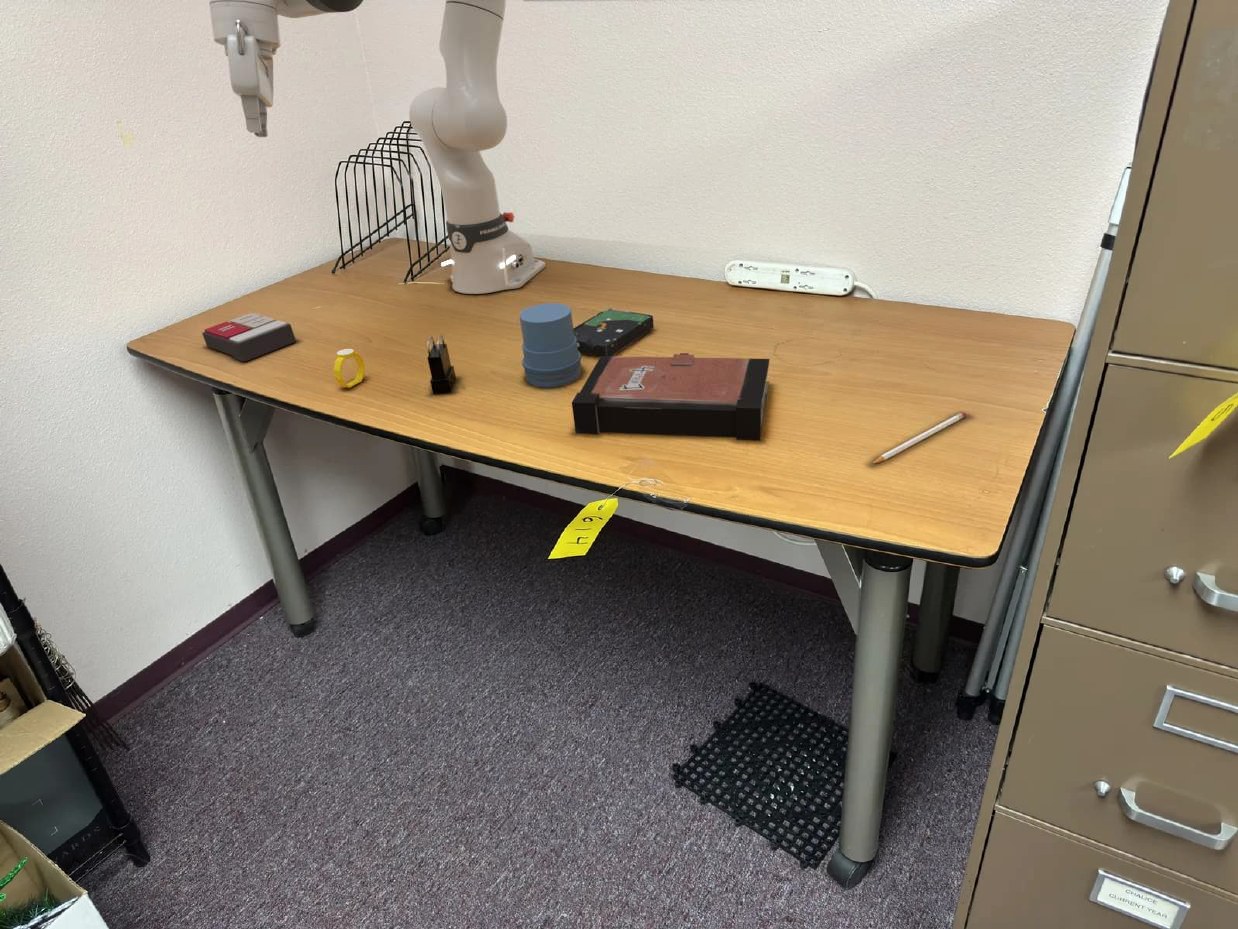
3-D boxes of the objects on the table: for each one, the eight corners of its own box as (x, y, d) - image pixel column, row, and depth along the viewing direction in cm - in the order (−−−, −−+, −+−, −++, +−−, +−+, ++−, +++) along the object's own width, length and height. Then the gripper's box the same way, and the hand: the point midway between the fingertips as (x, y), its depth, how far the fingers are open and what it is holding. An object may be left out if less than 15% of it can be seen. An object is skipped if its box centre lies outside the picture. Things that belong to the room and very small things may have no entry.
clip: (438, 380, 137) (428, 333, 133) (456, 379, 137) (446, 332, 132) (432, 394, 133) (422, 346, 128) (451, 393, 132) (440, 344, 128)
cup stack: (546, 359, 141) (537, 298, 135) (593, 368, 136) (586, 305, 130) (513, 383, 134) (502, 319, 128) (562, 392, 129) (553, 327, 123)
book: (769, 383, 126) (769, 353, 123) (760, 440, 111) (760, 408, 109) (604, 380, 132) (601, 351, 129) (575, 433, 117) (571, 402, 115)
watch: (348, 393, 136) (339, 360, 133) (335, 391, 137) (325, 358, 134) (371, 377, 140) (362, 345, 137) (358, 376, 141) (349, 344, 138)
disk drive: (608, 361, 138) (655, 328, 148) (607, 346, 137) (654, 314, 147) (560, 351, 144) (608, 320, 154) (558, 336, 142) (606, 306, 152)
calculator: (252, 310, 165) (290, 320, 155) (259, 330, 167) (297, 341, 158) (199, 329, 158) (235, 340, 149) (207, 349, 160) (244, 362, 151)
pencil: (966, 417, 112) (966, 413, 112) (875, 466, 104) (875, 462, 103) (961, 415, 113) (961, 411, 112) (870, 464, 104) (870, 459, 104)
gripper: (262, 18, 109) (274, 130, 113) (276, 44, 127) (286, 139, 132) (210, 14, 107) (224, 128, 111) (232, 41, 126) (243, 138, 130)
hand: (258, 134), depth 122 cm, fingers open, 8 cm apart
